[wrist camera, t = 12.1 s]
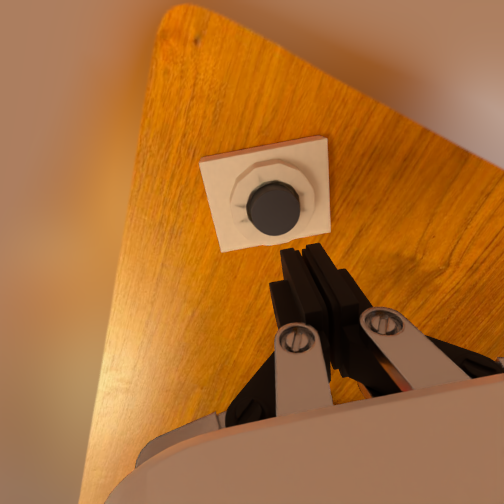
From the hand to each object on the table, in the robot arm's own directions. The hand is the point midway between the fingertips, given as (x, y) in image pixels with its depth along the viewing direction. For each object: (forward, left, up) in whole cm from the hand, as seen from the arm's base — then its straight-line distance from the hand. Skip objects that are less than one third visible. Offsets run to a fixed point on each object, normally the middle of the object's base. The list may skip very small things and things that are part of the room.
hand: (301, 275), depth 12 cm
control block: (0, -1, -15) cm, 15 cm away
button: (0, -1, -11) cm, 11 cm away
